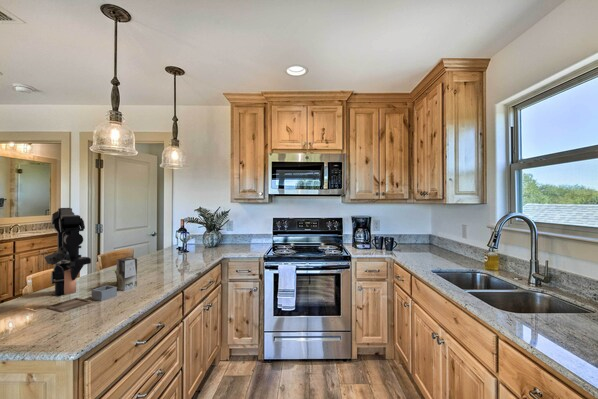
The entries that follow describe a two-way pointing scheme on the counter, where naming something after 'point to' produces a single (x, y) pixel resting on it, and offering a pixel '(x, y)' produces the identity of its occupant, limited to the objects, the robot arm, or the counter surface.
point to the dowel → (69, 283)
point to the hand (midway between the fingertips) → (70, 279)
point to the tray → (69, 304)
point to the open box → (104, 293)
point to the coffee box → (126, 273)
